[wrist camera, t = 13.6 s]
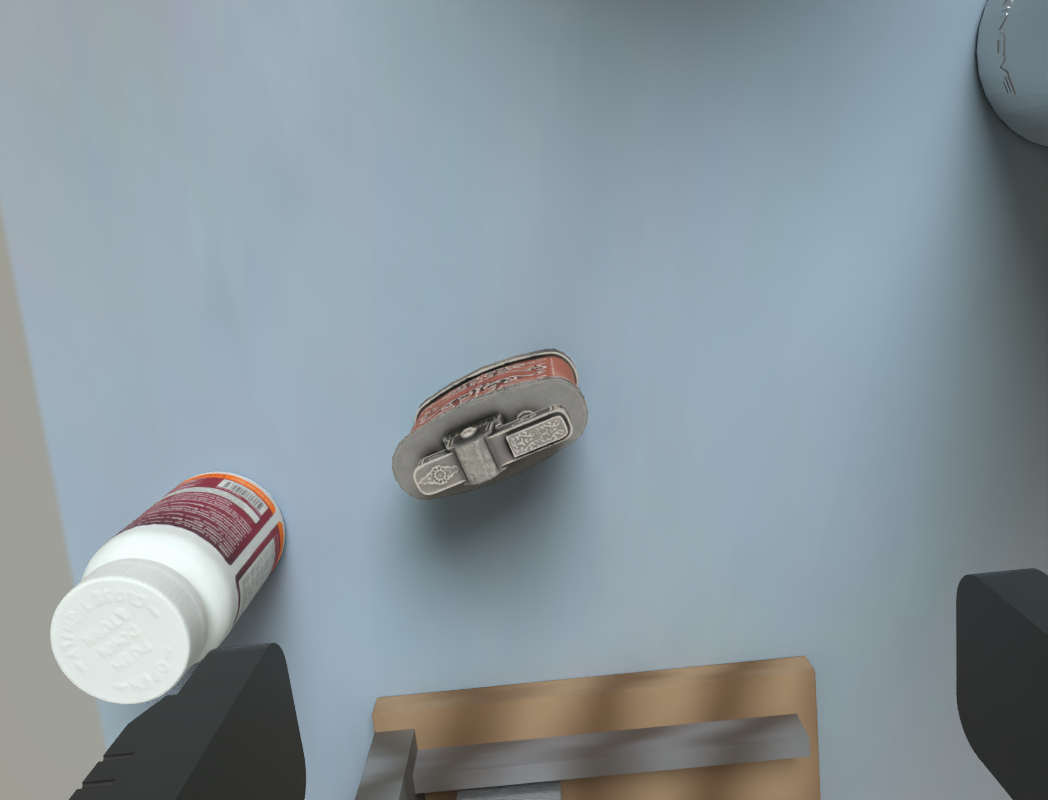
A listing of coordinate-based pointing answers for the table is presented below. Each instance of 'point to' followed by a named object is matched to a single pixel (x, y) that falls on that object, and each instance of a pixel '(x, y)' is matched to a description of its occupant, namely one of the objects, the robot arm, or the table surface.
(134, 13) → the table surface
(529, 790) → the gauge slider
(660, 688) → the gauge track
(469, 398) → the lighter
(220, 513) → the pill bottle
